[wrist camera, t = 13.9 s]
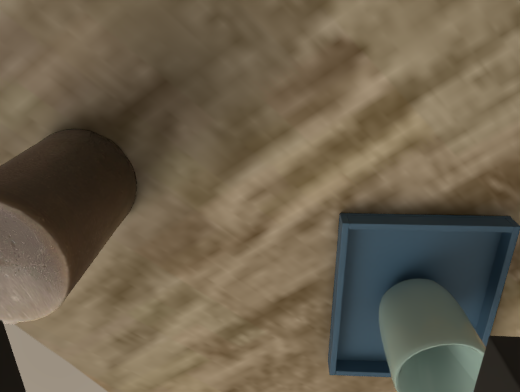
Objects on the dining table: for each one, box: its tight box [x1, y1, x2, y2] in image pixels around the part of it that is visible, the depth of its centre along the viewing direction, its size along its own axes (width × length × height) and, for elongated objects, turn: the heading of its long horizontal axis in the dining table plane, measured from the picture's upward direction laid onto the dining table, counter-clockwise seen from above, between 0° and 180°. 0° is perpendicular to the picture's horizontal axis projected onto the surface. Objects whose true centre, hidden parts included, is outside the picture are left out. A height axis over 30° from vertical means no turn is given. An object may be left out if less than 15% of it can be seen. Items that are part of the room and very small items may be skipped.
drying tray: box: [328, 213, 520, 377], centre depth 42 cm, size 15×18×2 cm
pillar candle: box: [0, 129, 137, 324], centre depth 33 cm, size 10×10×15 cm
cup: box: [378, 278, 486, 392], centre depth 38 cm, size 8×8×10 cm
